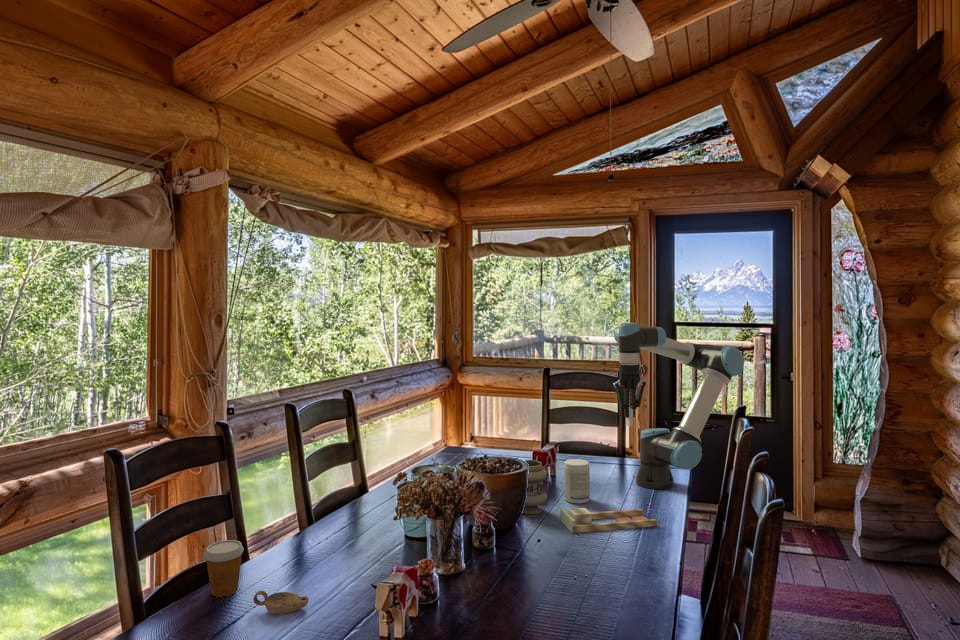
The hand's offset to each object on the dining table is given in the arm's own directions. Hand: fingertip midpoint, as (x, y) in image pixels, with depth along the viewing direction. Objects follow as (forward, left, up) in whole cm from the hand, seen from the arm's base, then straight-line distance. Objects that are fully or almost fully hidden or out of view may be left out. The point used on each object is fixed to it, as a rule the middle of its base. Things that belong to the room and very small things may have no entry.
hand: (629, 425), depth 227 cm
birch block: (+27, +19, -29) cm, 44 cm away
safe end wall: (+31, +19, -29) cm, 47 cm away
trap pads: (+7, +19, -29) cm, 36 cm away
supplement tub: (+19, -6, -29) cm, 35 cm away
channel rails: (+17, +19, -29) cm, 39 cm away
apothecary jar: (+40, +3, -29) cm, 49 cm away
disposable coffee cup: (+135, +45, -29) cm, 145 cm away
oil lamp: (+119, +58, -29) cm, 136 cm away
